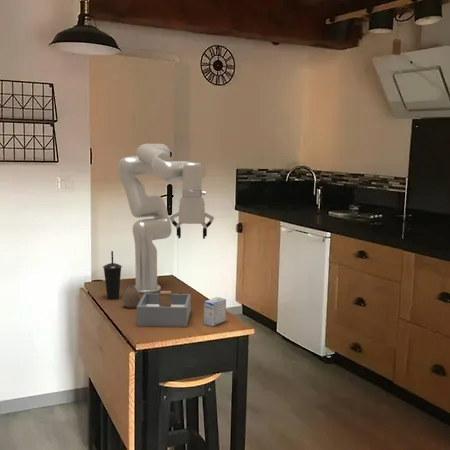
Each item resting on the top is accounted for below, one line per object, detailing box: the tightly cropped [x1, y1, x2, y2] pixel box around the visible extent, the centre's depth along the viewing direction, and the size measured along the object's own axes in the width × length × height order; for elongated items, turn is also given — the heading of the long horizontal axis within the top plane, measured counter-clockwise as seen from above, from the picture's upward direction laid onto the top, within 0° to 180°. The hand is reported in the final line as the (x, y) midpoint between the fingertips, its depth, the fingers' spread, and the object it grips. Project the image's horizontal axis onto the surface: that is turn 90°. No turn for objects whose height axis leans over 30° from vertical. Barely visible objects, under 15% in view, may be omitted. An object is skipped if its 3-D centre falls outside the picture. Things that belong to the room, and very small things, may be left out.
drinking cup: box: [102, 251, 123, 300], centre depth 237 cm, size 8×8×20 cm
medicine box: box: [203, 296, 227, 327], centre depth 207 cm, size 8×4×9 cm, turn 145°
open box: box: [136, 292, 192, 328], centre depth 212 cm, size 18×18×7 cm
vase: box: [122, 284, 141, 309], centre depth 225 cm, size 7×7×9 cm
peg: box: [158, 290, 172, 307], centre depth 211 cm, size 4×4×10 cm
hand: (191, 237), depth 221 cm, fingers open, 9 cm apart
